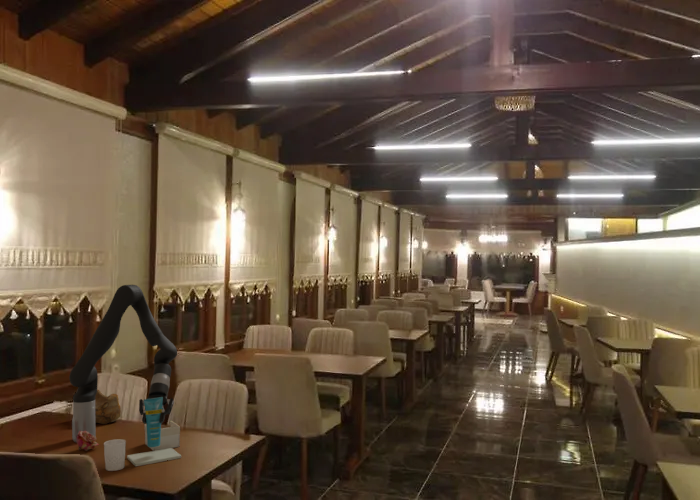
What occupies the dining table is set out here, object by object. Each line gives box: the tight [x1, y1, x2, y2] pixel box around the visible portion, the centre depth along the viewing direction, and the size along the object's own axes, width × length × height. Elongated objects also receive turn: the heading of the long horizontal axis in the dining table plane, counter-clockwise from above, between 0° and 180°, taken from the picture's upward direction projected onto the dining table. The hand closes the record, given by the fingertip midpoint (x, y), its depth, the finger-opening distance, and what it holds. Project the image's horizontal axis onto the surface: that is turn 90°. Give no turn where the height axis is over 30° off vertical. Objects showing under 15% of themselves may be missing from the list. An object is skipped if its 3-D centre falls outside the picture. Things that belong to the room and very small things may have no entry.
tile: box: [126, 448, 182, 467], centre depth 254 cm, size 18×13×1 cm
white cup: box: [103, 438, 127, 472], centre depth 242 cm, size 8×8×10 cm
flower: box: [76, 431, 99, 452], centre depth 267 cm, size 10×9×8 cm
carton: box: [144, 420, 181, 451], centre depth 272 cm, size 12×14×8 cm
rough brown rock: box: [95, 388, 122, 425], centre depth 314 cm, size 23×17×15 cm
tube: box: [143, 397, 163, 448], centre depth 255 cm, size 7×5×19 cm, turn 124°
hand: (152, 422), depth 253 cm, fingers closed on tube, 5 cm apart
